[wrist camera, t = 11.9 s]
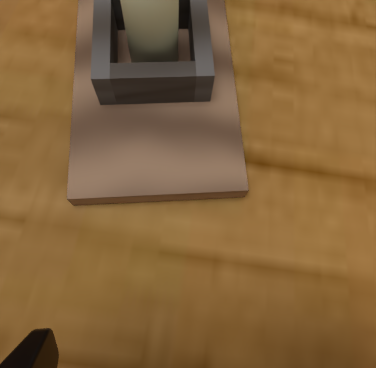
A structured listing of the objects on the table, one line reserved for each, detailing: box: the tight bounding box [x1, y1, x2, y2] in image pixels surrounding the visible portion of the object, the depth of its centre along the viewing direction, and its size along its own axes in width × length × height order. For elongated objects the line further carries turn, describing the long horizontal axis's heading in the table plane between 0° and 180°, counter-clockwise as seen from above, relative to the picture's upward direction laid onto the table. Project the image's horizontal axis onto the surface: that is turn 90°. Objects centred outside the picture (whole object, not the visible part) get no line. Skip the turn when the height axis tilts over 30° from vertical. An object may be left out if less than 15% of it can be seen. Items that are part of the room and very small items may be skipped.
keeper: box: [67, 0, 249, 205], centre depth 25 cm, size 22×12×4 cm, turn 3°
